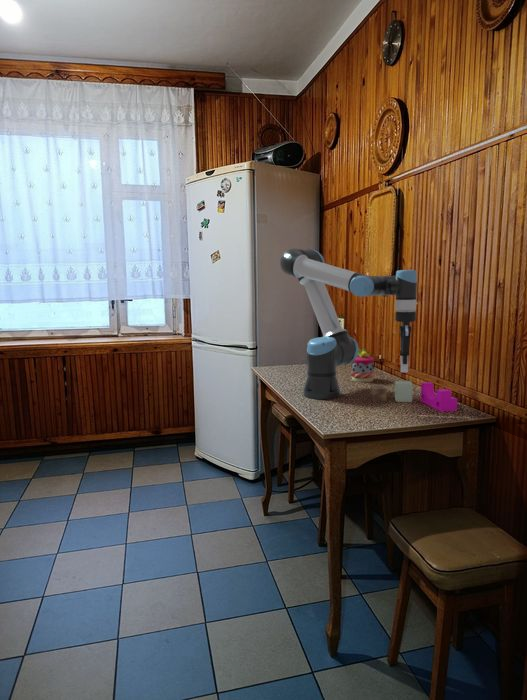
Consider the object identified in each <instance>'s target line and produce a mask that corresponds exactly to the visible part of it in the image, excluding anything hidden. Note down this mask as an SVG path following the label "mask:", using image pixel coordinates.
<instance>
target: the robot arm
mask: <svg viewBox="0 0 527 700" xmlns="http://www.w3.org/2000/svg"><path fill="white" fill-rule="evenodd" d="M279 266H280V269H281V271H282V272H283V273H284V274H286V275H287V276H291V277H295V278H297V280H298V282H299V284H300V285H302V286H304V289H305V291H306V294H307V296H308V299H309V301H310V302H309V303H310V304H311V308H312V310H313V313H314V315H315V317H316V320H317V322H318V325H319V327H320V330H321V333H322V336H321V337H314V338H311V339H309V341H308V342H307V347H306V352H307V353H306V354H307V355H306V356H307V360H306V361H307V362H306V363H307V364H306V365H307V366H306V367H307V373H306V374H307V376H306V380H305V383H304V386H303V389H302V395H303V397H306V398H309V399H315V400H316V399H317V400H330V399H336V398H339V397H340V396H341V388H340V385H339V382H338V379H337V367H340V366H341V367H342V366H346V365H349V364H352V363H351V362H353V361H354V360H355V359H356V357H357V355H358V349H359V344H358V342H357V341H356V340H355V338H353V337H351V336H350V334H349V332H348V330H347V329H345V328H343V327H342V324H341V322H340V320H339V317H338V315H337V312H336V310H335V309H336V308H335V306H334V304H333V302H332V299H331V297H330V294H329V292H328V289H327V286H326V285H328V286H332V287H335V288H337V289H341V290H343V291H347V292H351V293H352V295H354V296H356V297H362V298H364V297H378V296H395V304H394V305H395V309H394V310H395V311H396V312H395V315H394V316H395V317H394V319H395V322H398V323H399V322H400V323H401V325H400V326H399V337H400V345H399V346H400V347H399V349H400V350H399V352H400V353H399V356H400V371H399V372H400V373H409V356H410V346H411V345H410V343H411V333H412V332H411V331H412V326H411V325H410V323H413V322H416V320H417V312H416V310H417V305H418V304H419V302H417V293H418V292H417V291H418V290H417V288H418V287H417V286H418V276H417V275H418V274H417V271H416V270H415V269H400V270H396V272H395V275H367V274H366V275H365V274H363V273H358V272H356V271H352V270H349V269H346V268H341V267H338V266H334V265H331V264H328V263H325V259H324V256H323V255H322V254H321V253H320V252H319V251H317V250H314V249H311V248H306V249H304V248H303V249H302V248H295V247H294V248H289V249H287V250H285V251H284V252H283V253H281V256H280V258H279Z"/></svg>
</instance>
